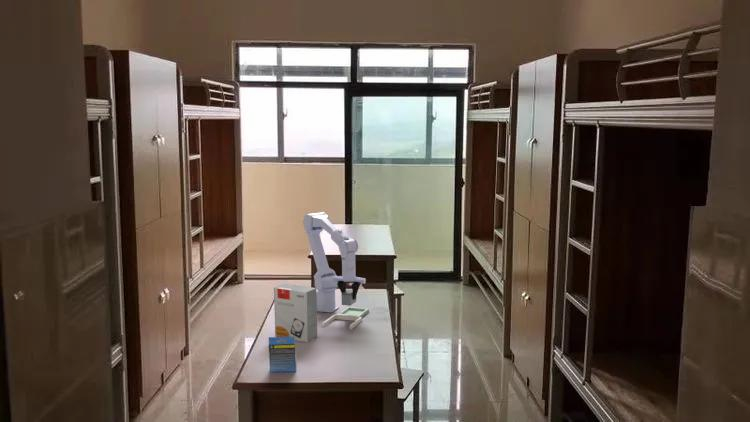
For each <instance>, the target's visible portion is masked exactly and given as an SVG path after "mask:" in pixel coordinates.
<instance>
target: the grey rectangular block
mask: <svg viewBox="0 0 750 422" xmlns="http://www.w3.org/2000/svg"><path fill="white" fill-rule="evenodd" d="M340 293H341V292H340ZM356 302H357V298H356V299H355V300H353V291H352V289H350V288H349V289H347V288H346V291H344V292H343V293H341V306H347V307H352V305H353V304H355V303H356Z"/></svg>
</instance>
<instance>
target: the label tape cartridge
mask: <svg viewBox="0 0 750 422" xmlns="http://www.w3.org/2000/svg"><path fill="white" fill-rule="evenodd" d="M268 355H269V356H268V357H269V372H270V373H280V372H283V373H285V372H286V373H287V372H297V346H296V343H295V340H294V337H277V336H273V337H272V336H270V337H268Z"/></svg>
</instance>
